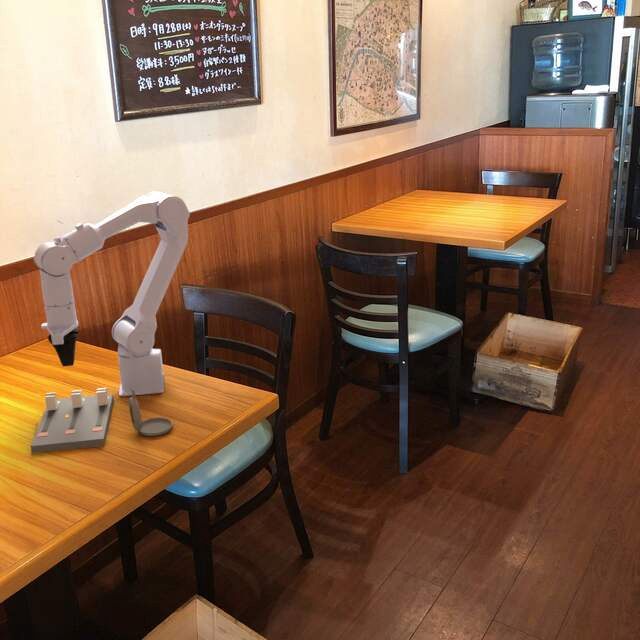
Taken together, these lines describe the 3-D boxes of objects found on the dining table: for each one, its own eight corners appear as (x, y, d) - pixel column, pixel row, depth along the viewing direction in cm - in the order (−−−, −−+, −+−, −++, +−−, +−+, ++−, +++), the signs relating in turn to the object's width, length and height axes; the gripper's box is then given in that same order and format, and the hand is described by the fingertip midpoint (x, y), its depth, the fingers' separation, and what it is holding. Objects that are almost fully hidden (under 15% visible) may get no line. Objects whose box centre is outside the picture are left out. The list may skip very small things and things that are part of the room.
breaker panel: (113, 400, 148) (112, 393, 148) (104, 445, 130) (103, 438, 129) (50, 405, 146) (49, 399, 145) (31, 453, 127) (30, 445, 127)
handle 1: (57, 405, 142) (55, 391, 141) (56, 409, 140) (54, 395, 139) (48, 406, 142) (46, 392, 141) (47, 410, 140) (44, 396, 139)
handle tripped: (83, 402, 143) (81, 388, 142) (81, 407, 141) (79, 393, 140) (74, 403, 143) (72, 389, 142) (72, 408, 141) (70, 393, 140)
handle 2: (108, 400, 144) (106, 386, 143) (107, 404, 142) (105, 390, 141) (99, 401, 143) (97, 387, 142) (98, 405, 142) (96, 391, 141)
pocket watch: (179, 426, 137) (175, 380, 133) (149, 445, 130) (144, 397, 126) (149, 417, 140) (144, 372, 137) (118, 434, 134) (112, 388, 130)
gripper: (44, 293, 144) (53, 353, 149) (31, 315, 131) (41, 380, 135) (79, 291, 145) (87, 350, 150) (69, 312, 132) (79, 377, 137)
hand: (68, 364), depth 143 cm, fingers closed
